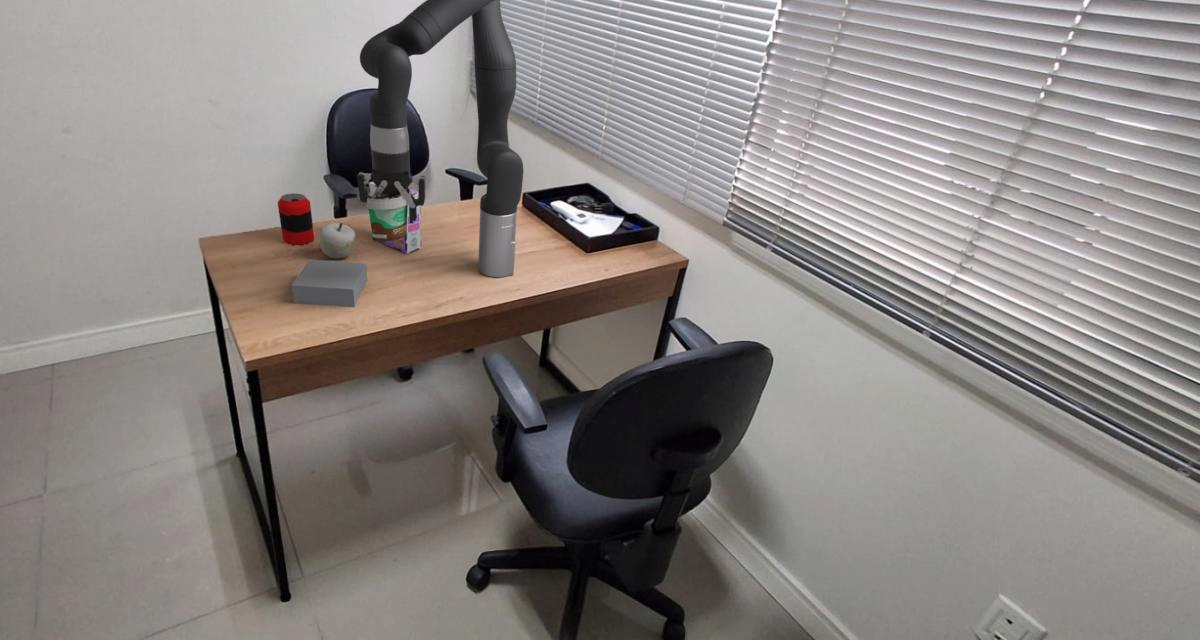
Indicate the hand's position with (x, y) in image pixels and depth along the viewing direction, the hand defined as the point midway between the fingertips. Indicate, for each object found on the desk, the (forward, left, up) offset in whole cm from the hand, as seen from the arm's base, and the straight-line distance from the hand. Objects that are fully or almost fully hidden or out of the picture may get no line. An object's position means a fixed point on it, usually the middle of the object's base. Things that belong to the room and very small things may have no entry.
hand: (394, 220), depth 135 cm
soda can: (+29, -29, -20) cm, 45 cm away
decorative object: (+17, -20, -20) cm, 33 cm away
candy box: (+4, -30, -20) cm, 36 cm away
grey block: (+15, -2, -20) cm, 25 cm away
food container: (0, 0, -4) cm, 4 cm away
